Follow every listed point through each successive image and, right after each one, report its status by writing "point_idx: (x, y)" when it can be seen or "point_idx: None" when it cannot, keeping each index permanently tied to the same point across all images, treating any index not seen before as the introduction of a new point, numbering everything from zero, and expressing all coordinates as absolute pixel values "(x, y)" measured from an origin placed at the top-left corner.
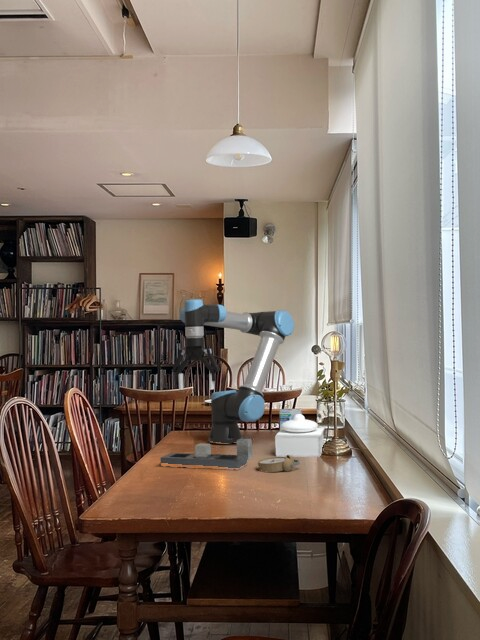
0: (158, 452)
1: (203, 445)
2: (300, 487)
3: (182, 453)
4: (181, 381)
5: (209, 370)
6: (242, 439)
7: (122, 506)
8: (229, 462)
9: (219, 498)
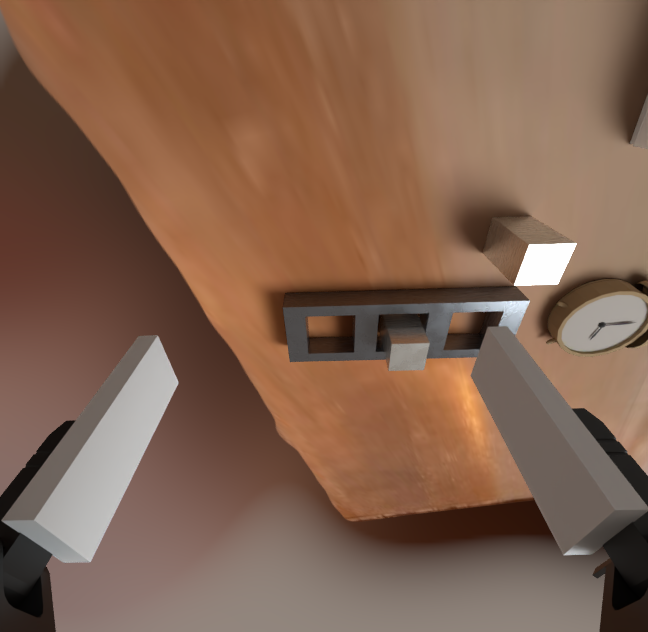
0: (137, 168)
1: (414, 366)
2: (617, 412)
3: (322, 312)
4: (134, 437)
5: (603, 615)
6: (537, 261)
7: (364, 497)
8: None
9: (480, 465)
